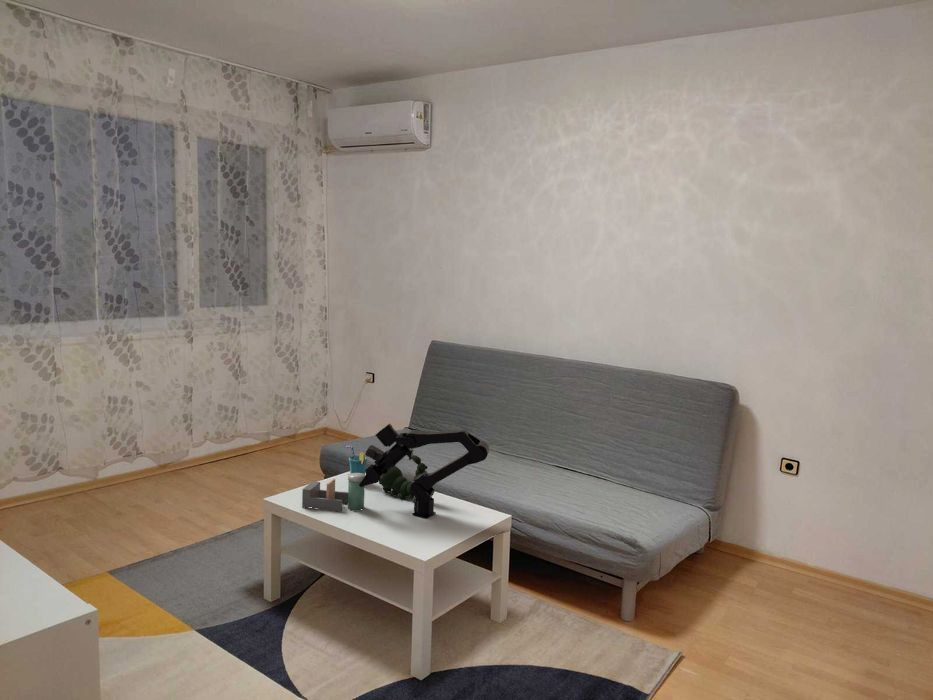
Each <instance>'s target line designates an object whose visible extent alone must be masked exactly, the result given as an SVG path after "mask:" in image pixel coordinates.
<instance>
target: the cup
mask: <svg viewBox="0 0 933 700" xmlns="http://www.w3.org/2000/svg"><path fill="white" fill-rule="evenodd" d="M345 448H348V449H349V448H350V450H351V454H352V456H351V457H348V462H349V474H351V473H363V474H365V475H366V473H365V470H366V469H367V468H366V466H367V462H368V458H367V456H366V455H365V453H364V452H363V451H361V452H360V453H359V455H355V450H354V447H353V445H346V446H345Z"/></svg>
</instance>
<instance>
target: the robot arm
mask: <svg viewBox="0 0 933 700" xmlns="http://www.w3.org/2000/svg"><path fill="white" fill-rule="evenodd" d="M375 437H376V438H377V440H379V442H380V443H381V444H382V445H383V446H384V447H389V449H388V450H386V451H384V450H382V449H381V448H379V447H377V446H375V445H372V444H370V445H369V446H368V448H367V449H366V451H365V453H364V455H365V457H366V458H367V457H368V458H370V459H372V460H374V462H373V463H374V464H370V465H369V466H368V467H367V468H366V469H365V477H364V479H363V480H362V481H361V483H360V484H359V486H360V487H363V486H365V487H367V486H370V485H373V484H378V483H379V481H380V480H381V479H382V478H383V474H386V473H387V472H388V471H389V470H390V469H391V468H392V467H394V466H396V465H397V464H398V463H400V461H402V460H403V459H404V458H405V457H406V456H407V457H408V459H409V458H411V457H412V456H413V455H414V451H415V450H414V449H417V448H421V447H424V446H427V445H432V444H433V445H434V444H449V443H460V444H461V445H462V446H463V447H464V448H465V449H466V452H465V453H464V454H463V455H460V456H459V457H456V458H455V459H454V460H452V461H450V462H448V463H447V464H445V465H443V466H441V467H439V468H437V469H436V470H435V471H433V472H430V473H429V472H428V471H427V470H425V472H423V473H422V474H420V475H417V476H416V478H415V479H414V478H413V481H414V482H413V481H412V482H413V483H412V484H411V487H410V489H411V492H412V493H413V494H414V499H415V500H414V503H413V504H414V505H413V506H414V507H413V512H412V516H416V517H420V518H423V519H428V518H430V517H432V516H435V515H436V513H437V512H435V511H434V510H435V509H434V507H435V497H434V498H433V496H434V495H435V491H436V489H434V486H435V484H438V483H439V482H441V481H442V480H444V479H446V478H447V477H449V476H452V474H455V473H457V472H458V471H460V470H462V469H463V468H465V467H467V466H469V465H473V464H477V463H481V462H483V461H485V460H486V459H487V457H488V455H489V453H490V446H489V444H488V443H486V441H482V440H481V439H480V438H478V437H476V436H474V435H473V434H471V433H470V432H469V431H468V430H466V429H459V430H457V429H456V430H446V431H445V430H444V431H431V432H430V431H425V430H421V429H420V430H419V429H418V430H417V429H412V430H409V431H408V432H399V433H398V432H397V431H396V430H395V428H394V427H393V425H392V424H391V423H388V424H387V425H386V426H384V427H383V428H382V429H380V430H379V431H378V432H377V433H376V434H375ZM391 446H392V447H391Z"/></svg>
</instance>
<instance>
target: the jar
mask: <svg viewBox="0 0 933 700" xmlns="http://www.w3.org/2000/svg"><path fill="white" fill-rule="evenodd" d="M365 476H366V473H365V474H363V473H351V474H350V473H349V474H348V475H347V480H348V481H347V483H348V485H347V486H348V488H347V489H348V490H347V492H348V503H347V509H348V510H349V509H350V510H349V511H352V510H359V511H362V510H361V509H363V508H364V509H365V491H366V490H365V488H366V486H363V487H360V486H359V484H360V483H361V481H362V480H363V479H364V477H365ZM364 509H363V510H364Z"/></svg>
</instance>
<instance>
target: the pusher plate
mask: <svg viewBox="0 0 933 700" xmlns="http://www.w3.org/2000/svg"><path fill="white" fill-rule="evenodd" d="M326 490H327V492H326V498H327V499H335V491H336V478H332V479H331V480H329V482H327V483H326Z"/></svg>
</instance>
